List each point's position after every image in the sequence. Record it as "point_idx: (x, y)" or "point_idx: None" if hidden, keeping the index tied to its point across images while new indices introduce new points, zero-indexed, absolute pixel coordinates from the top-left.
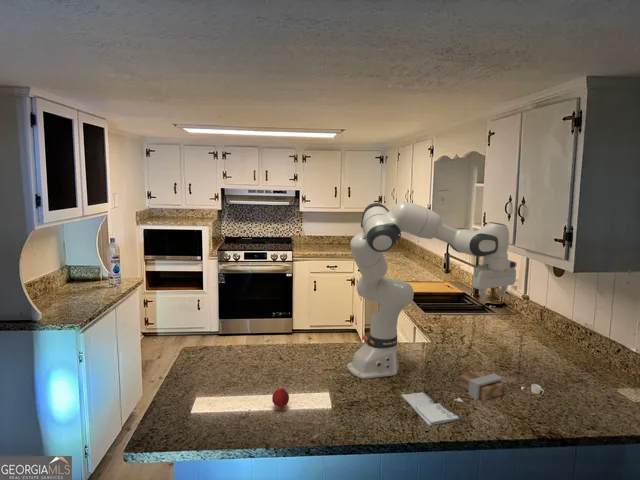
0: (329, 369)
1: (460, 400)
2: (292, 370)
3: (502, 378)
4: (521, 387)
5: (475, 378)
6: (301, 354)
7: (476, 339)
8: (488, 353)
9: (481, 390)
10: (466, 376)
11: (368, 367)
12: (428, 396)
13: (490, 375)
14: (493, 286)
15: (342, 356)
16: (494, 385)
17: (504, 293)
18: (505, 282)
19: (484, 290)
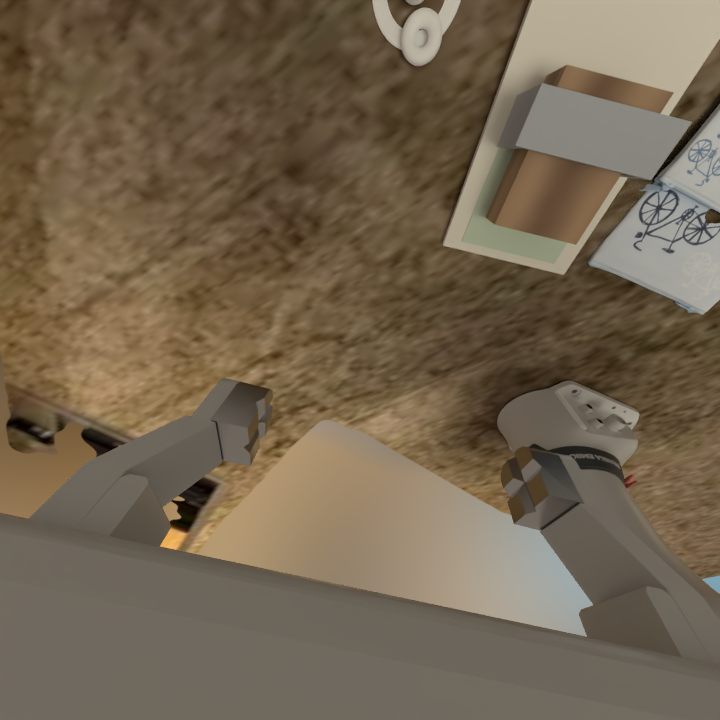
0: None
1: (684, 165)
2: (667, 493)
3: (542, 84)
4: (422, 59)
5: (619, 170)
6: None
7: (219, 368)
8: (259, 308)
9: None
10: (568, 225)
11: (625, 427)
12: (674, 262)
13: (548, 143)
14: (564, 670)
15: None
16: (598, 88)
17: (210, 404)
18: (44, 679)
19: (695, 614)
